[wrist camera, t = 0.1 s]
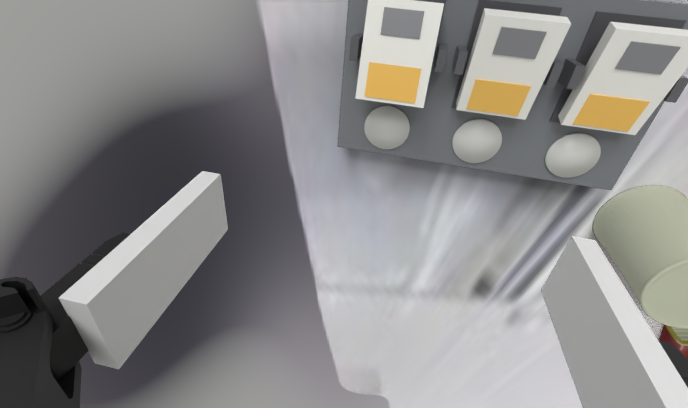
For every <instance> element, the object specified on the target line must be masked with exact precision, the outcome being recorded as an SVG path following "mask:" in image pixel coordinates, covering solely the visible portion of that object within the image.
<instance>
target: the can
mask: <svg viewBox="0 0 688 408" xmlns="http://www.w3.org/2000/svg"><path fill="white" fill-rule="evenodd" d="M593 231H594V234H595V236H596V238H597V239H598V241H599V242H600V243H601V244H602V245H603V246H604V248H605V249H606V251H607V252H608V254H609V255H610V257H611V258H612V260H613V261H614V263H615V264H616V266H617V267H618V269H619V270H620V272H621V274H622V275H623V277H624V278H625V280H626V281H627V283H628V285H629V286H630V288H631V289H632V291H633V293H634V294H635V296H636V298H637V299H638V301H639V303H640V304H641V307H642V309H643V311H644V312H645V313H646V314H647V315H648V316H649V317H650V318H651V319H653V320H655V321H657V322H659V323H661V324H664V325H667V326H671V327H676V328H686V329H688V199H687V198H686V197H685V196H684V195H683V194H682V193H681V192H679V191H677V190H675V189H673V188H670V187H666V186H658V185H650V186H641V187H636V188H632V189H629V190H627V191H624V192H622V193H620V194H618V195H616V196H614V197H613V198H611V199H610V200H609V201H607V202H606V203H605V204H604V205H603V206H602V207H601V208H600V209H599V211H598V212H597V214H596V216H595V219H594V223H593Z"/></svg>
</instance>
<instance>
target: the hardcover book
mask: <svg viewBox="0 0 688 408" xmlns="http://www.w3.org/2000/svg"><path fill="white" fill-rule="evenodd" d="M659 341H663V342H668V343H671V344H672V345H673V346H675V347H676V348H677V349H678V350H679V351H680V352H681V353H682V354H683V355H684V356H685V357H686V358H687V359H688V329H686V328H676V327H671V326H667V325H664V327H663V330H662V333H661V337H660V340H659Z"/></svg>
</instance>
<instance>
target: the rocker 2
mask: <svg viewBox="0 0 688 408" xmlns="http://www.w3.org/2000/svg"><path fill="white" fill-rule="evenodd" d="M687 68H688V30H685V29H676V28H666V27H657V26H648V25H638V24H629V23H619V22H610V23H609V25H608V27H607V28H606V30H605V32H604V34H603V36H602V37H601V39H600V41H599V43H598V45H597V46H596V48H595V50H594V52H593V54H592V55H591V57H590V59H589V61H588V63H587V65H586V68H585V70H584V72H583V74H582V77H581V79H580V81H579V83H578V86H577V88H576V90H574V89H573V90H572V92H571V93H570V95H569V97H568V99H567V101H566V103H565V104H564V106H563V108H562V110H561V112H560V113H559V115H558V117H559V120H560V123H561V125H566V126H573V127H581V128H588V129H595V130H602V131H609V132H616V133H623V134H630V135H636V134H637V132H638V131H639V130H640V129H641V127H642V126H643V125H644V123H645V122H646V121H647V119H648V118H649V117H650V116H651V114H652V113H653V112H654V110H655V109H656V108H657V107H658V105H659V104H660V103H661V101H662V100H663V99H664V98H665V96H666V95H667V94H668V92H669V91H670V90H671V88H672V87H673V86H674V85H675V83H676V82H677V81H678V79H679V78H680V77H681V76H682V74H683V73H684V72H685V70H686V69H687Z"/></svg>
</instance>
